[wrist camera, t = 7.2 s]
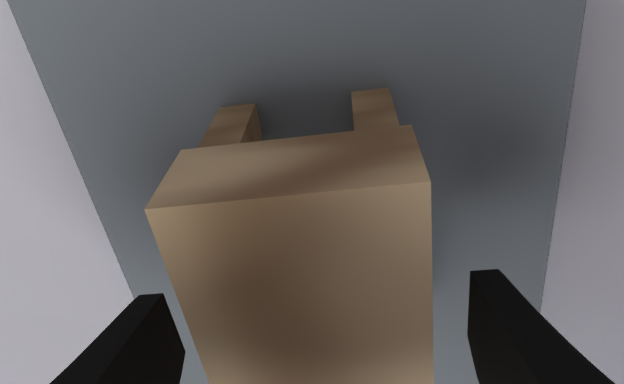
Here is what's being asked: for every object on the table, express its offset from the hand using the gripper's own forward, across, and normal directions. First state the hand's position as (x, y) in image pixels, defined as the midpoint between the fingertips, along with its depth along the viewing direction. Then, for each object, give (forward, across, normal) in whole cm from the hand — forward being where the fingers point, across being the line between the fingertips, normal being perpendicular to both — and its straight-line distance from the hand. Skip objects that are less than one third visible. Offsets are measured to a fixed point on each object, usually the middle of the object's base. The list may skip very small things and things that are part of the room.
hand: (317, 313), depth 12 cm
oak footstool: (+4, 0, 0) cm, 4 cm away
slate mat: (+5, 0, 0) cm, 5 cm away
